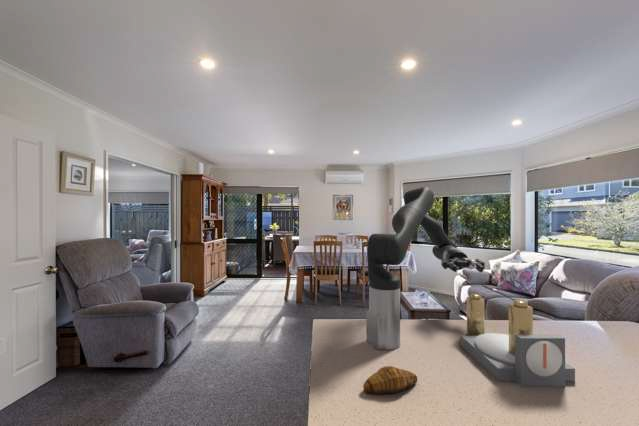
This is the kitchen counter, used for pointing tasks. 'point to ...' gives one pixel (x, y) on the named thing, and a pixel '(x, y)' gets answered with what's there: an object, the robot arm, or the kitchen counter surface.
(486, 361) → the scale
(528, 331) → the weight
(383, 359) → the kitchen counter surface
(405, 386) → the croissant
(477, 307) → the weight
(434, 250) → the robot arm
